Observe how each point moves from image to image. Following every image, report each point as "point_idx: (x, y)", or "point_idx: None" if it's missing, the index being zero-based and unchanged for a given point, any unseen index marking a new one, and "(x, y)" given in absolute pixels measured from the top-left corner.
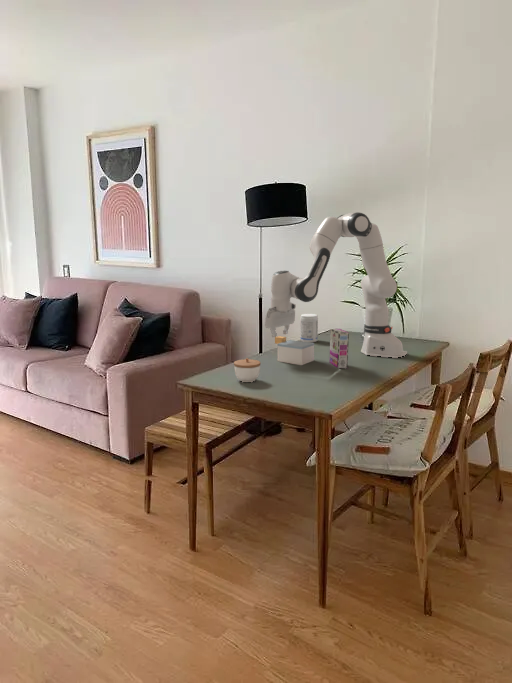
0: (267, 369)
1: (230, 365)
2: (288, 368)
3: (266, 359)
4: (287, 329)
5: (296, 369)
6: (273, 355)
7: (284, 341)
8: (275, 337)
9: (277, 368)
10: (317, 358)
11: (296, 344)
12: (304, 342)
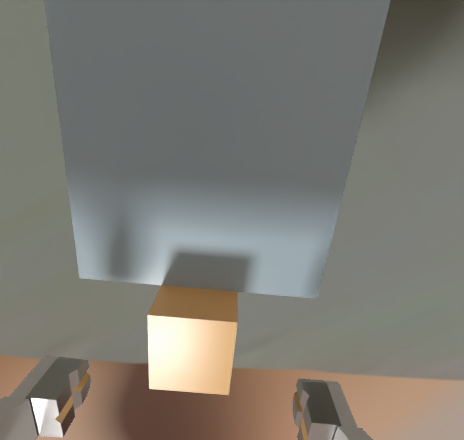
0: (453, 203)
1: (422, 377)
2: (392, 100)
3: (239, 306)
4: (7, 412)
5: (402, 32)
6: (141, 316)
7: (192, 288)
8: (229, 387)
9: (413, 164)
10: (25, 46)
11: (262, 104)
12: (91, 66)
